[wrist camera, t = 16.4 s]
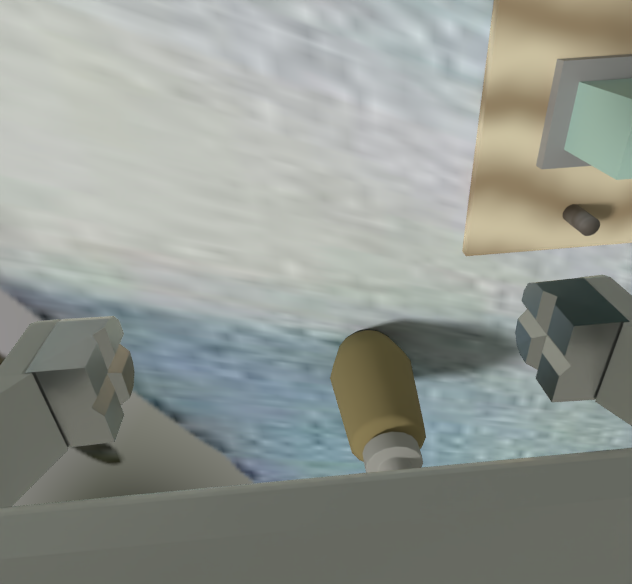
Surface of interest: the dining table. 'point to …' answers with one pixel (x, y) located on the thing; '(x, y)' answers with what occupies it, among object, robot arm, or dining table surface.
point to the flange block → (590, 116)
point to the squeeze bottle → (378, 402)
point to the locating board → (526, 132)
